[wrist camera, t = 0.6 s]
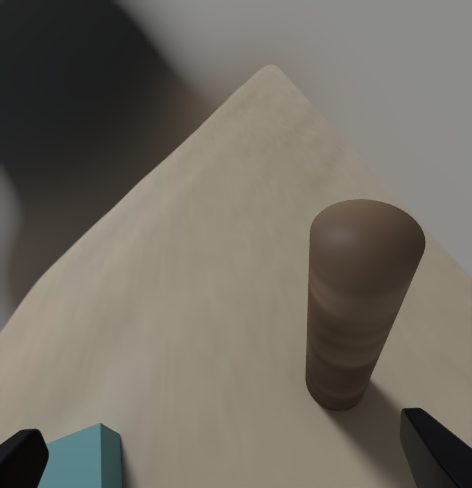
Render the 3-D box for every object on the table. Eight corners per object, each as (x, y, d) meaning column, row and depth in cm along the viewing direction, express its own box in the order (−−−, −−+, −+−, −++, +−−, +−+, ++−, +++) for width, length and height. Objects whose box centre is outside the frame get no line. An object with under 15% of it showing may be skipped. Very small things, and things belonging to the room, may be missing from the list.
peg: (376, 397, 22) (452, 253, 11) (322, 420, 21) (345, 293, 10) (344, 345, 24) (379, 188, 13) (296, 364, 24) (292, 218, 13)
